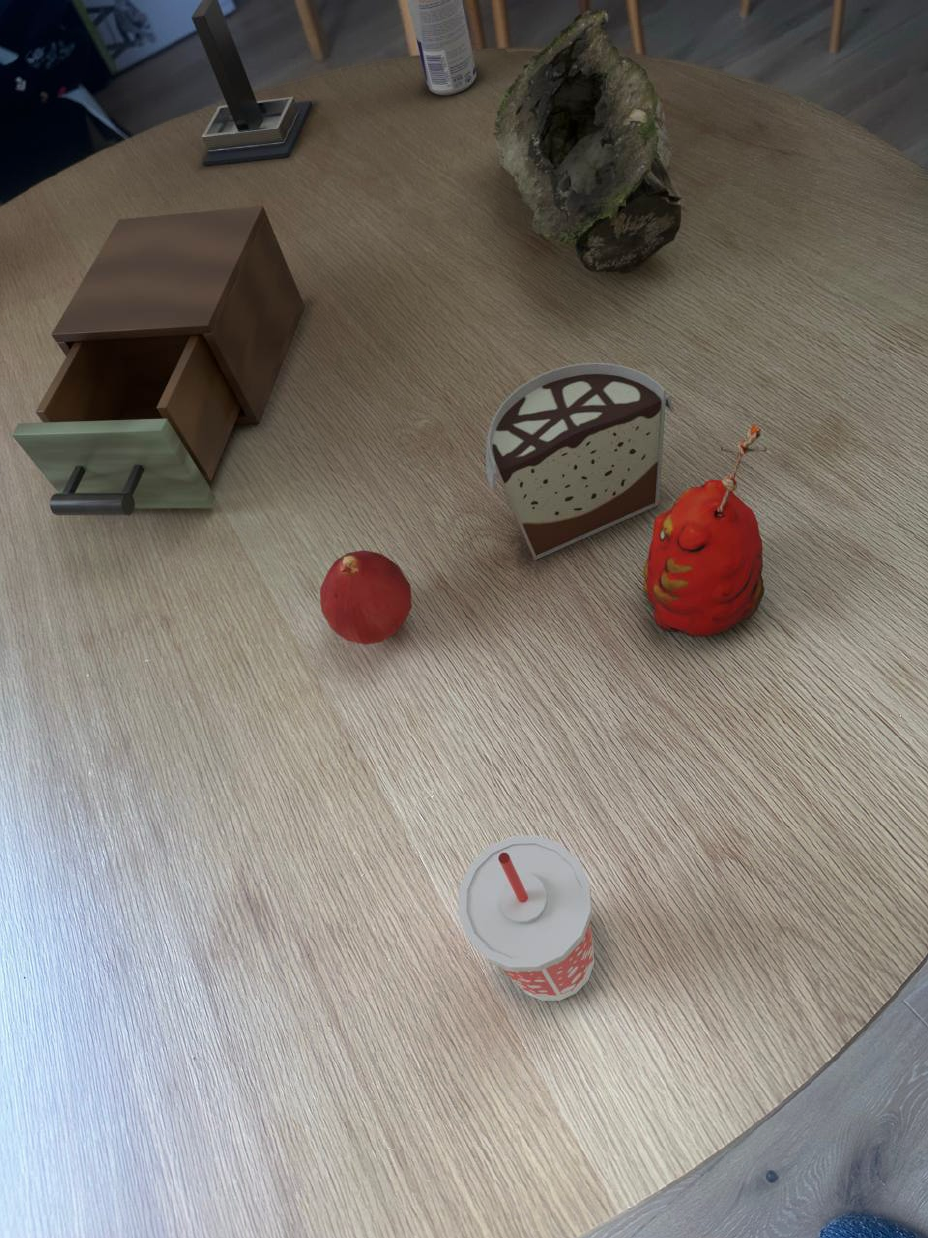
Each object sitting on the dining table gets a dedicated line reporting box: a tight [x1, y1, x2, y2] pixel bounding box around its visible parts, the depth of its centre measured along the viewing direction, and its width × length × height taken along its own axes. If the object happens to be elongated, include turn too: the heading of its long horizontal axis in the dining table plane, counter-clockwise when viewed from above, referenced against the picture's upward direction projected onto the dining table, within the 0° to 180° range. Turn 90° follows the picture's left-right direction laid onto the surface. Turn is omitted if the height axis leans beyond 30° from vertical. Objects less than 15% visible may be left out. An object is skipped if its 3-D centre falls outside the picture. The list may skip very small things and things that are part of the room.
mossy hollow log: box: [492, 8, 683, 275], centre depth 82 cm, size 28×13×15 cm
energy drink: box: [406, 0, 477, 96], centre depth 101 cm, size 5×5×12 cm
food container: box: [485, 362, 675, 561], centre depth 65 cm, size 12×6×10 cm, turn 111°
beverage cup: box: [457, 834, 595, 1002], centre depth 46 cm, size 6×6×14 cm
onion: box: [319, 550, 412, 645], centre depth 63 cm, size 6×6×8 cm
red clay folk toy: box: [642, 424, 768, 638], centre depth 56 cm, size 8×7×15 cm
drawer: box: [11, 334, 241, 516], centre depth 76 cm, size 18×12×8 cm
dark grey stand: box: [191, 0, 300, 154], centre depth 102 cm, size 9×6×13 cm, turn 80°
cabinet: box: [50, 205, 305, 425], centre depth 82 cm, size 15×14×10 cm
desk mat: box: [202, 100, 313, 167], centre depth 108 cm, size 10×10×1 cm
